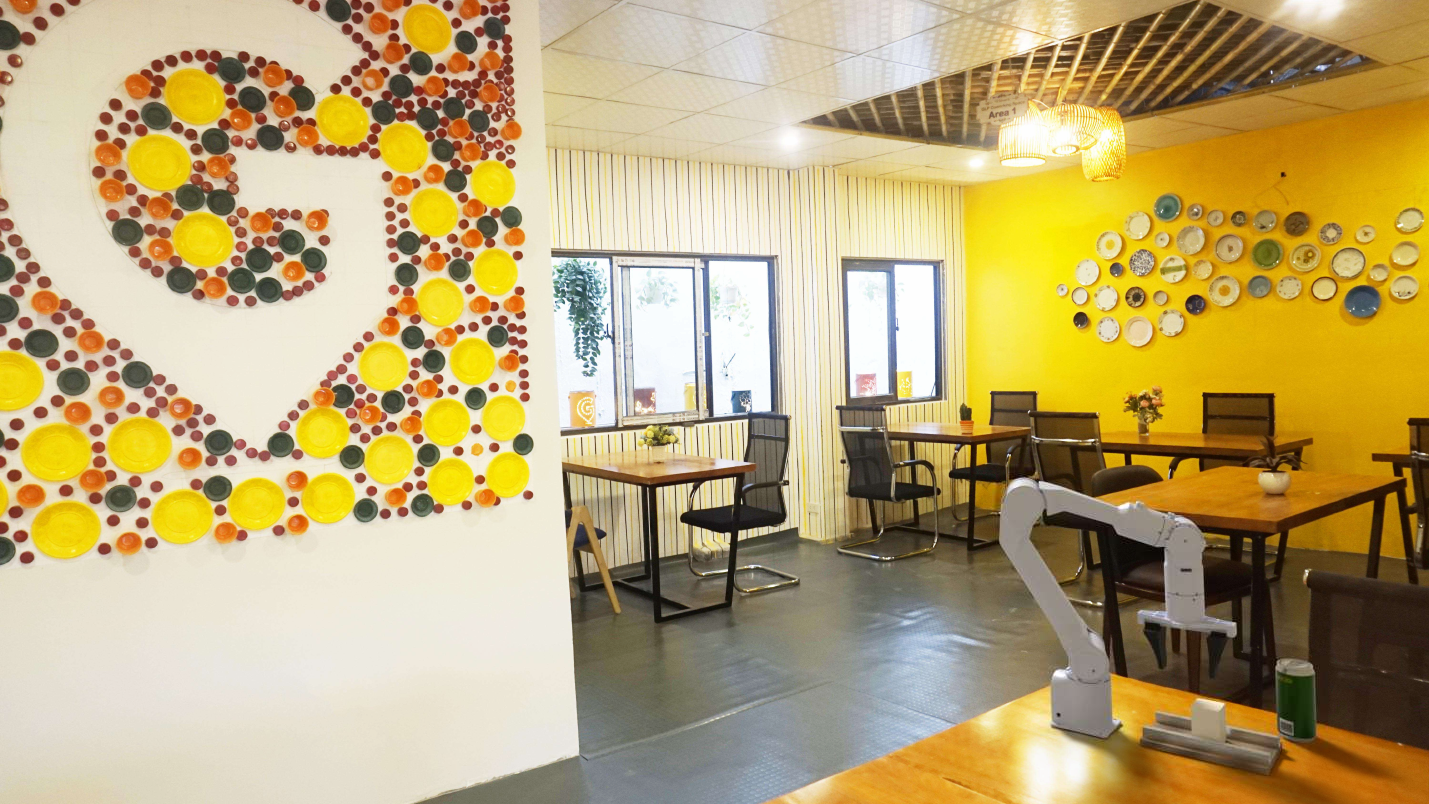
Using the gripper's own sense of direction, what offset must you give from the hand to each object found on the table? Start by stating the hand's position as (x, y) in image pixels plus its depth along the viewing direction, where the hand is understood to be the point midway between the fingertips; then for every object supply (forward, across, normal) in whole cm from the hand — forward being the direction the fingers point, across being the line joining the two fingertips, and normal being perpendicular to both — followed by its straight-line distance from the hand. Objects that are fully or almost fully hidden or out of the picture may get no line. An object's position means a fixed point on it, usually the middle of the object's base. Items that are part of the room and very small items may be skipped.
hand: (1187, 671), depth 148 cm
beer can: (+11, +14, +8) cm, 19 cm away
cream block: (+9, +4, -4) cm, 11 cm away
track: (+10, +4, -4) cm, 12 cm away
